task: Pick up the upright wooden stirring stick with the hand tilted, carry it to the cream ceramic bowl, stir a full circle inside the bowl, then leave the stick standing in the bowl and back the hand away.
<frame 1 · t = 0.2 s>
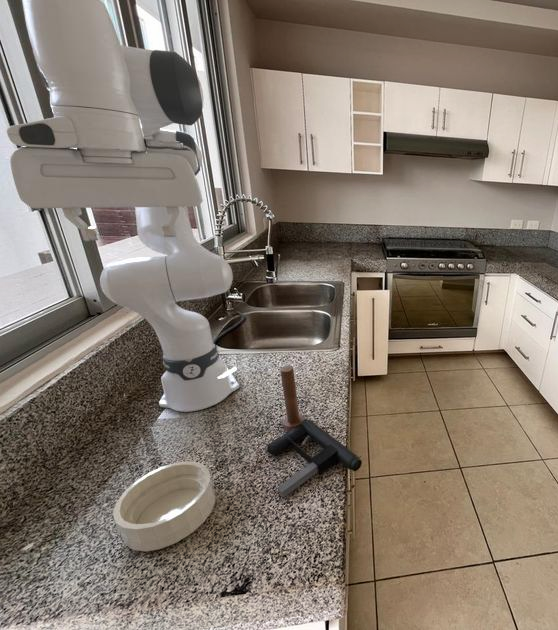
hand: (133, 238, 52), 48 cm above the counter, tool pointing down, fingers open, 8 cm apart
bowl: (173, 515, 62), on the counter
stirring stick: (294, 424, 85), on the counter
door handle: (307, 463, 74), on the counter
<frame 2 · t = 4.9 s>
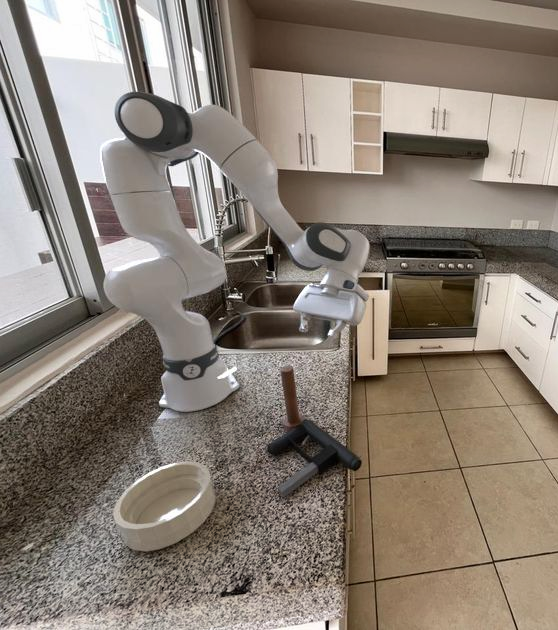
hand: (316, 334, 86), 20 cm above the counter, tool tilted 45°, fingers open, 8 cm apart
nothing on the counter moved.
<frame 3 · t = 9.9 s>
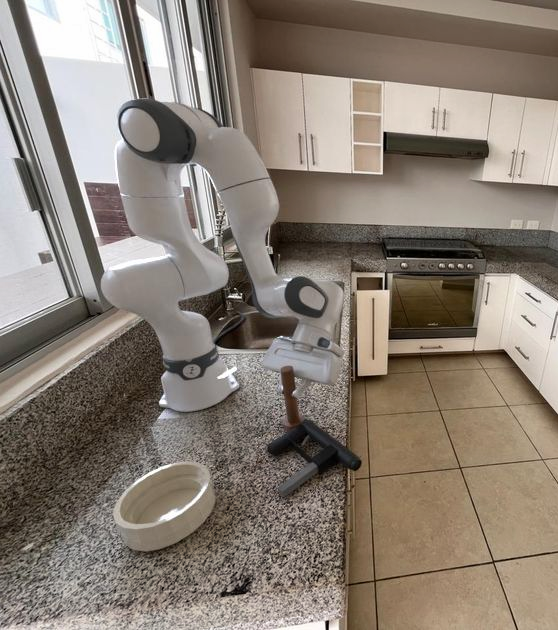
hand: (288, 395, 81), 9 cm above the counter, tool tilted 45°, fingers closed on stirring stick, 3 cm apart
stirring stick: (294, 424, 85), on the counter, touching gripper
everything else where it was.
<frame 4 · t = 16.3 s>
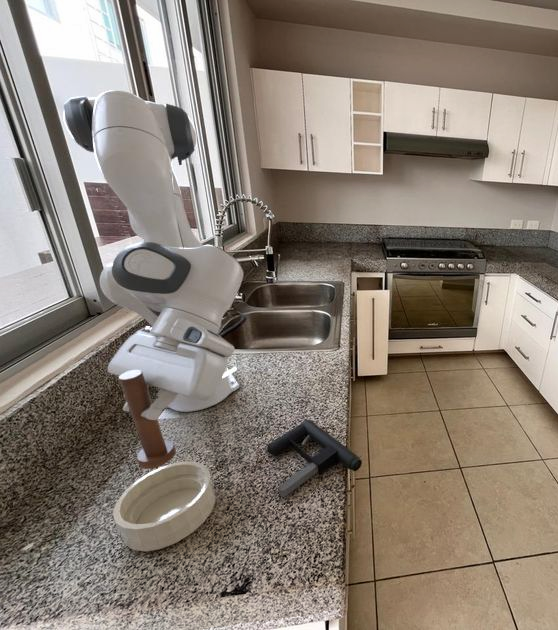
hand: (139, 415, 53), 22 cm above the counter, tool tilted 45°, fingers closed on stirring stick, 3 cm apart
stirring stick: (158, 457, 57), point 13 cm above the counter, touching gripper
everything else where it was.
when the fingers open (10 cm above the counter, at t = 22.7 s): stirring stick stays where it is, resting on bowl.
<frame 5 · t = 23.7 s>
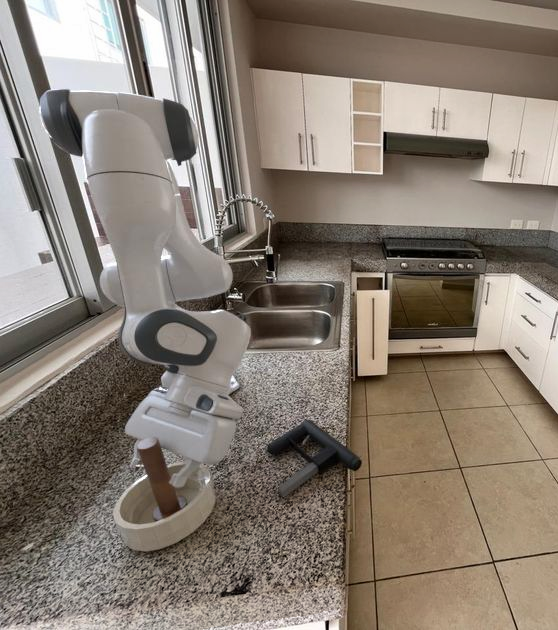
hand: (155, 477, 57), 10 cm above the counter, tool tilted 45°, fingers open, 8 cm apart
stirring stick: (171, 513, 61), point 1 cm above the counter, touching bowl
everything else where it was.
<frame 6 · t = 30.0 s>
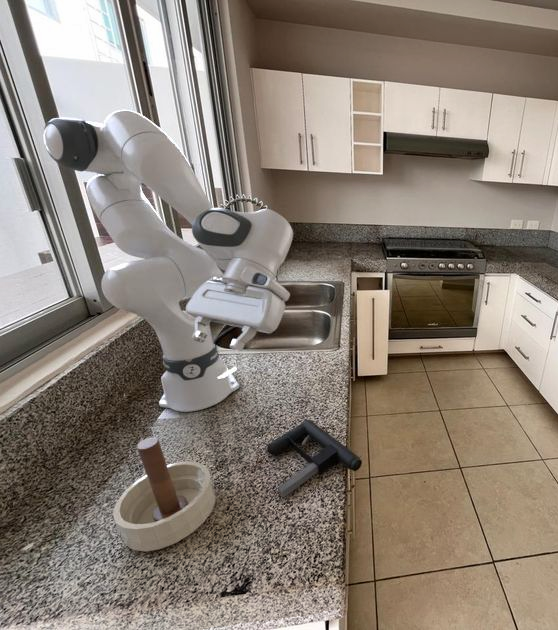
hand: (215, 345, 64), 27 cm above the counter, tool tilted 45°, fingers open, 8 cm apart
nothing on the counter moved.
at the end: stirring stick inside the target area in the bowl (0.1 cm from its centre), point 0.8 cm above the bowl's base; the gripper is holding nothing; stirring stick moved 28.4 cm from its start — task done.
